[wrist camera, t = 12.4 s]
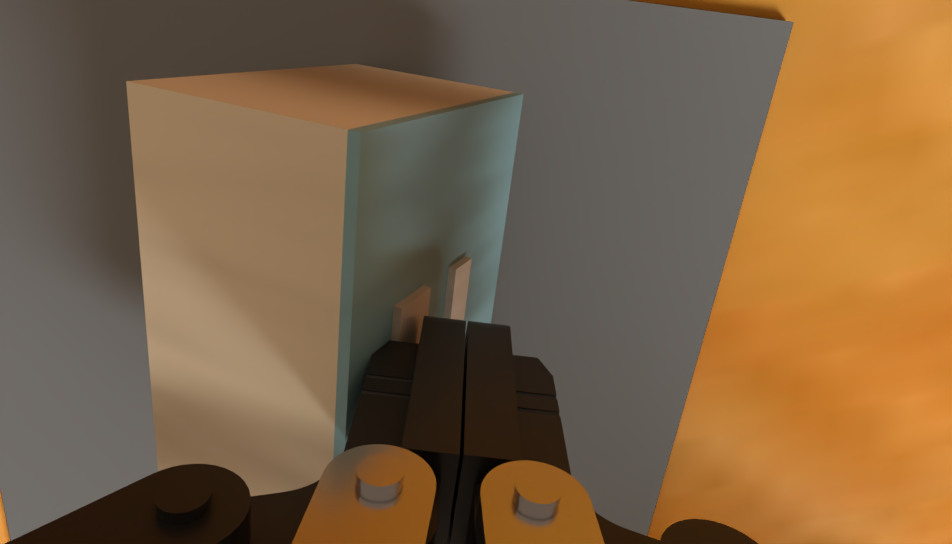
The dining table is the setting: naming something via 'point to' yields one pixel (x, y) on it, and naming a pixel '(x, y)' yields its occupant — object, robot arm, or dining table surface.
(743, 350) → the dining table surface
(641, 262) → the mat
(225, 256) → the block
